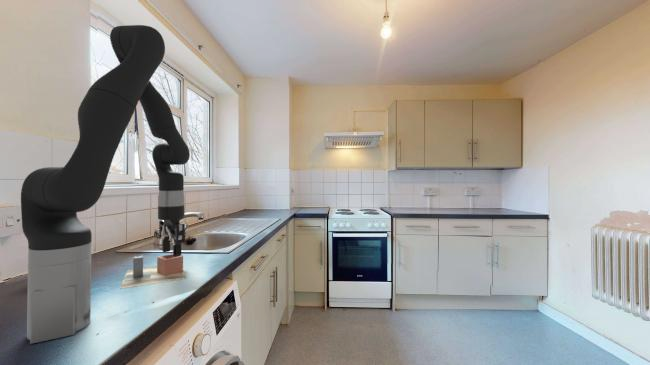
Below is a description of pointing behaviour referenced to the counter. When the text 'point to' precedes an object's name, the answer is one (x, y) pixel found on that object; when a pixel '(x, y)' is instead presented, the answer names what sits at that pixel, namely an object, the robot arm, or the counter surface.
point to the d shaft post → (138, 266)
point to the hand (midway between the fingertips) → (171, 253)
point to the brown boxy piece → (169, 264)
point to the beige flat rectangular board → (149, 277)
